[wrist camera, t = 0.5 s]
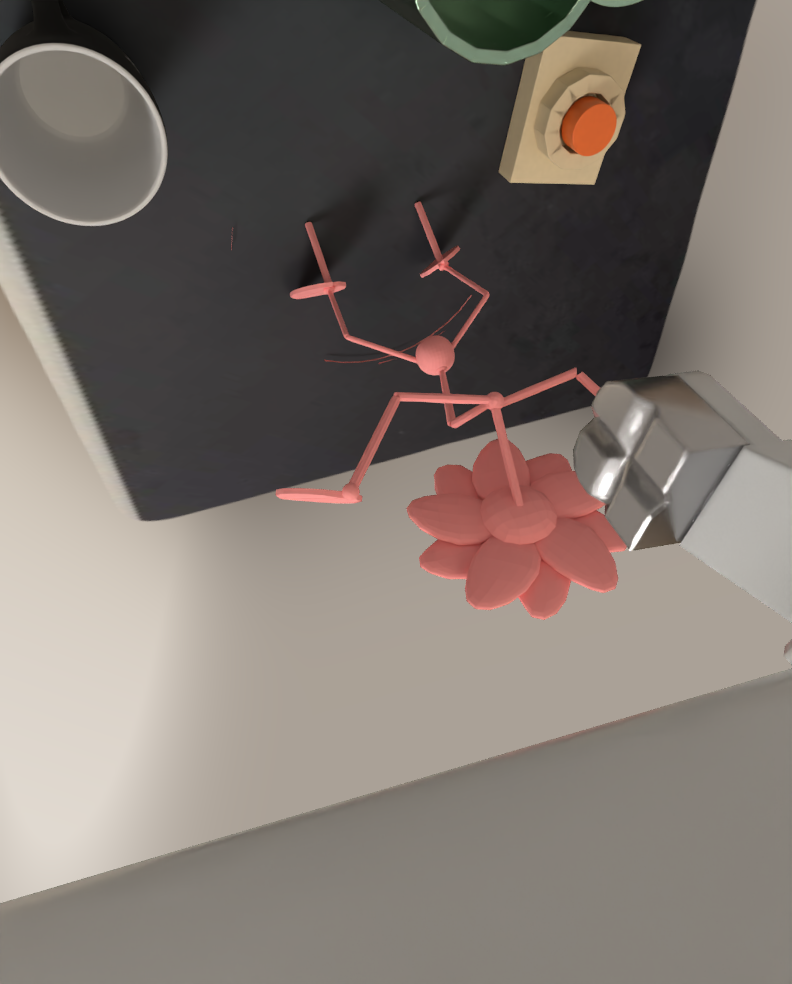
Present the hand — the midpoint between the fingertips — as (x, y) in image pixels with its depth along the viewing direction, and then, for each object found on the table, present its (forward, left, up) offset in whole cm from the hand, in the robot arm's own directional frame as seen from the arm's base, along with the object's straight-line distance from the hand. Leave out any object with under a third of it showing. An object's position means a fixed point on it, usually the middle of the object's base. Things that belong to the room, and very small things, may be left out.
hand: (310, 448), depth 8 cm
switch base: (+8, +32, -45) cm, 56 cm away
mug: (+7, -3, -45) cm, 46 cm away
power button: (+8, +32, -41) cm, 53 cm away
